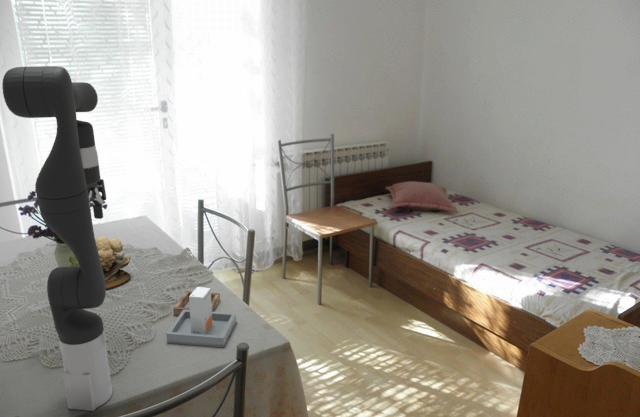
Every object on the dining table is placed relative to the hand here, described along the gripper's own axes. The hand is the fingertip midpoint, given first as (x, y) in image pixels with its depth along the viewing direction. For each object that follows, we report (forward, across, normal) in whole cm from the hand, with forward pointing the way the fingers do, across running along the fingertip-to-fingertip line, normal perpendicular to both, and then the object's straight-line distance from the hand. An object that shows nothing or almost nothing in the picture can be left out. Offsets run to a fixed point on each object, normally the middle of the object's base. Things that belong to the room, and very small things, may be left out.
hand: (90, 223), depth 137 cm
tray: (+33, +4, -27) cm, 43 cm away
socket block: (+33, +17, -21) cm, 43 cm away
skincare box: (+32, +4, -27) cm, 42 cm away
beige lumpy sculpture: (+33, +29, +15) cm, 47 cm away
